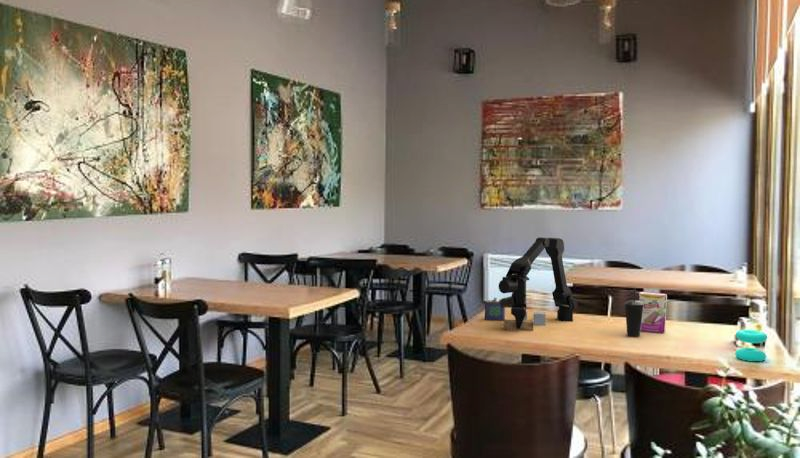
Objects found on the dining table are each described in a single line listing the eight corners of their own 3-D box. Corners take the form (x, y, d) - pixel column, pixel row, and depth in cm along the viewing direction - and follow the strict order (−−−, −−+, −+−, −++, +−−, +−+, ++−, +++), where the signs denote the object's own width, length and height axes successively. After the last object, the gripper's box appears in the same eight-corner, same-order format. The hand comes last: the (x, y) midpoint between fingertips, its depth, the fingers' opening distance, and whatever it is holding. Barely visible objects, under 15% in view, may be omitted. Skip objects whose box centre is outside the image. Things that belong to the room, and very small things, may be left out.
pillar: (544, 323, 307) (545, 312, 307) (545, 325, 302) (545, 314, 302) (533, 322, 308) (533, 311, 308) (533, 325, 303) (533, 313, 303)
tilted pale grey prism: (526, 322, 308) (527, 311, 308) (526, 324, 304) (527, 313, 303) (515, 322, 309) (515, 311, 309) (515, 324, 304) (515, 313, 304)
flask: (504, 320, 315) (504, 297, 314) (505, 321, 312) (505, 298, 311) (484, 320, 315) (484, 296, 315) (484, 321, 312) (485, 297, 312)
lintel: (531, 329, 296) (532, 320, 296) (533, 331, 291) (533, 322, 291) (503, 328, 297) (504, 319, 297) (504, 331, 292) (504, 321, 292)
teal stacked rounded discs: (766, 330, 249) (768, 335, 240) (764, 357, 250) (767, 363, 241) (735, 327, 253) (736, 333, 244) (734, 354, 254) (735, 360, 245)
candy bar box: (637, 331, 294) (638, 293, 293) (638, 329, 298) (639, 291, 297) (664, 333, 289) (666, 295, 288) (665, 331, 293) (667, 293, 292)
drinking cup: (642, 334, 287) (644, 287, 285) (643, 338, 279) (644, 289, 278) (623, 333, 289) (625, 286, 288) (623, 336, 282) (624, 288, 281)
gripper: (501, 287, 304) (500, 322, 304) (499, 293, 285) (498, 330, 286) (526, 288, 301) (525, 323, 302) (526, 294, 283) (525, 332, 284)
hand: (518, 327), depth 294 cm, fingers closed on lintel, 5 cm apart
